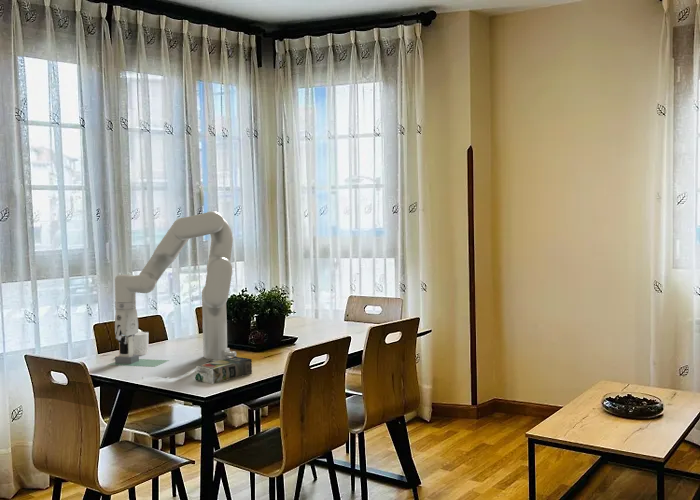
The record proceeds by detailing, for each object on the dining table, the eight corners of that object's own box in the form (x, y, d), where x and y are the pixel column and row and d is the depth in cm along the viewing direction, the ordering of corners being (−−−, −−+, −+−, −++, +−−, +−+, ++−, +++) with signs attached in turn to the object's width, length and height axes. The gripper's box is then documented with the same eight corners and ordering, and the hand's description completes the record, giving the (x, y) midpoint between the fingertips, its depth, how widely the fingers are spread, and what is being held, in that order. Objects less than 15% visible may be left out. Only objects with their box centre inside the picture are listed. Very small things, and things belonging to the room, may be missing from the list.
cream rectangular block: (133, 356, 275) (132, 335, 275) (129, 357, 272) (128, 337, 272) (123, 355, 276) (123, 335, 276) (119, 357, 273) (118, 336, 273)
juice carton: (211, 385, 242) (211, 367, 242) (192, 381, 248) (192, 364, 248) (253, 374, 258) (252, 358, 258) (234, 371, 264) (234, 355, 264)
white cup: (143, 359, 286) (142, 335, 286) (125, 358, 288) (125, 334, 287) (152, 355, 294) (151, 332, 293) (135, 355, 295) (134, 331, 295)
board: (169, 364, 277) (169, 354, 276) (154, 370, 265) (154, 360, 265) (124, 362, 281) (123, 352, 281) (107, 368, 270) (107, 358, 269)
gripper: (122, 309, 264) (123, 357, 265) (145, 303, 280) (145, 349, 281) (105, 308, 266) (106, 356, 267) (128, 303, 282) (129, 348, 283)
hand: (126, 352), depth 274 cm, fingers closed on cream rectangular block, 3 cm apart
